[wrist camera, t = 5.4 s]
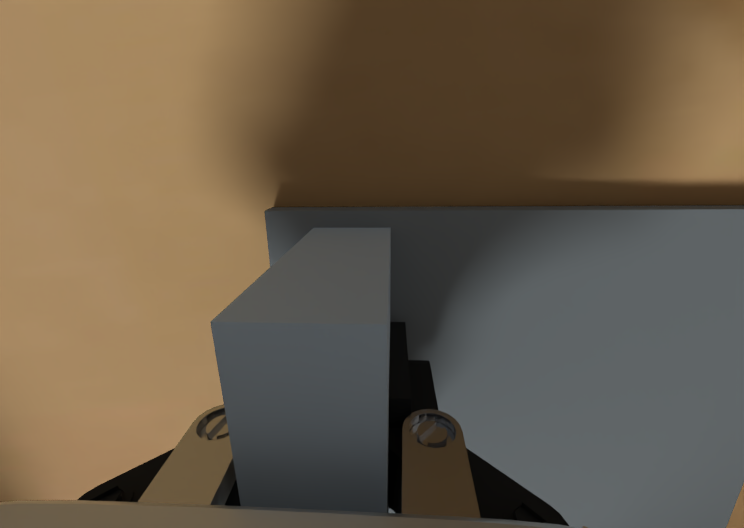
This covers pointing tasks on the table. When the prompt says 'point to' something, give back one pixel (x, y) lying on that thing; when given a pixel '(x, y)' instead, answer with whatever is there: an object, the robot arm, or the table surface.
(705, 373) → the mat
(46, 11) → the table surface
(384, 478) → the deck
